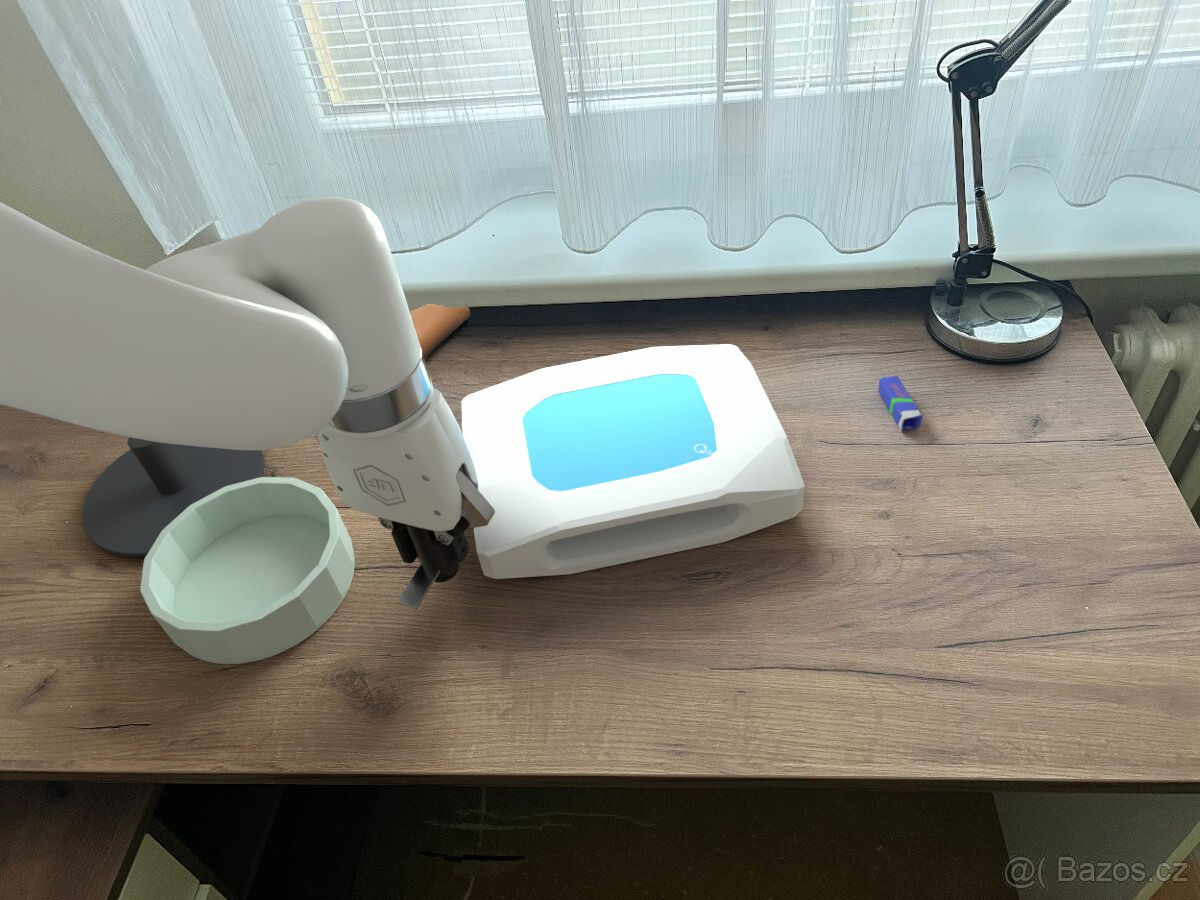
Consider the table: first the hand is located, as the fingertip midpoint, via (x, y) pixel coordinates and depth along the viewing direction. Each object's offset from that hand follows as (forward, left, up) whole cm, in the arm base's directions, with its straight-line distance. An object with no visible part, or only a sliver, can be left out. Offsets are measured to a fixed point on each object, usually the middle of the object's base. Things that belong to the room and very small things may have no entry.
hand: (436, 554), depth 71 cm
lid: (-14, +30, -5) cm, 34 cm away
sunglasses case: (+13, +33, -6) cm, 36 cm away
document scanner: (+20, +1, -6) cm, 21 cm away
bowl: (-12, +13, -6) cm, 19 cm away
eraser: (+45, -11, -6) cm, 47 cm away
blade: (0, 0, -2) cm, 2 cm away
